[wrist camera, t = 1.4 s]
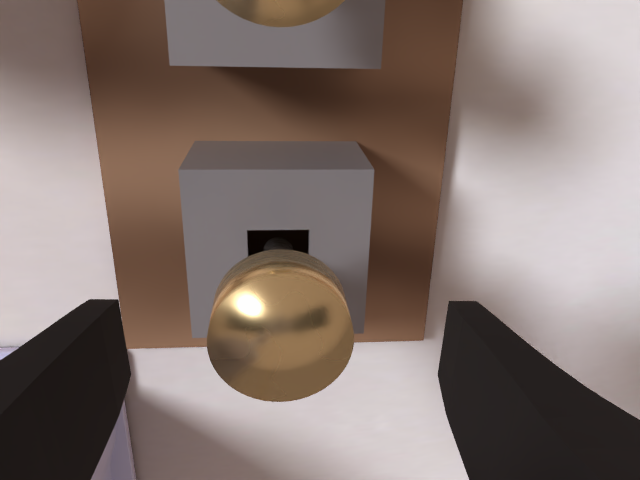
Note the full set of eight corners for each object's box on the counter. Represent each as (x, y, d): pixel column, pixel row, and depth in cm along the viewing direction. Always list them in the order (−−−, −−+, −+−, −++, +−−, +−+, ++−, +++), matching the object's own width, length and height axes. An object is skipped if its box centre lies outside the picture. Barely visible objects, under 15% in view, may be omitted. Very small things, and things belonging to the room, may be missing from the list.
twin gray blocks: (349, 282, 23) (363, 333, 19) (204, 285, 22) (192, 338, 19) (370, -145, 17) (397, -186, 13) (174, -155, 16) (147, -201, 13)
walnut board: (419, 333, 25) (423, 340, 24) (129, 341, 24) (126, 348, 23) (485, -251, 16) (493, -260, 16) (44, -282, 15) (36, -293, 15)
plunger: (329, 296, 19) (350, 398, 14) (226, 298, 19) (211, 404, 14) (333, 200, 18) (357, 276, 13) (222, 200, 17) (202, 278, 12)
